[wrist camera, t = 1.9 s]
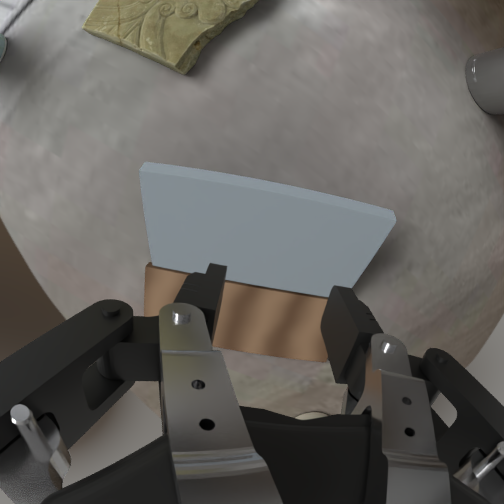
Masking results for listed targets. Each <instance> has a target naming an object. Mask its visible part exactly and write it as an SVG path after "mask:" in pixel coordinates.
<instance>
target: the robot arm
mask: <svg viewBox="0 0 504 504" xmlns="http://www.w3.org/2000/svg"><path fill="white" fill-rule="evenodd" d="M466 79H467V84H468V87H469V90H470V92H471V94H472V96H473V98H474V100H475V101H476V103H477V104H478V105H479V106H480V107H481V108H482V109H483V110H484V111H486V112H487V113H490V114H504V47H503V48H499V49H495V50H492V51H488V52H484V53H481V54H478V55H474V56H472V57H471V58H470V59H469V60H468V62H467V65H466ZM226 273H227V266H225V265H219V264H214V263H210V264H209V266H208V268H207V271H206V273H205V274H204V273H199V272H194V273H192V274H190V275H188V276H187V277H186V279H185V281H184V284H183V285H182V287H181V289H180V290H179V292H178V294H177V296H176V298H175V300H174V302H173V303H170V304H167V305H165V306H163V307H162V308H161V309H160V311H159V315H158V316H151V317H142V316H133V309H132V307H131V306H130V305H128V304H127V303H125V302H123V301H119V300H112V299H109V300H102V301H99V302H96V303H94V304H93V305H91V306H89V307H88V308H86V309H84V310H83V311H81V312H79V313H78V314H76V315H74V316H73V317H71V318H69V319H68V320H66V321H65V322H63V323H61V324H60V325H58V326H56V327H55V328H53V329H52V330H50V331H48V332H47V333H45V334H43V335H42V336H40V337H39V338H37V339H35V340H34V341H32V342H31V343H29V344H28V345H26V346H24V347H23V348H21V349H20V350H18V351H16V352H15V353H13V354H12V355H10V356H9V357H7V358H6V359H4V360H3V361H1V362H0V488H1V489H2V490H3V491H4V493H5V494H6V495H7V496H8V497H9V498H10V499H11V500H12V501H13V502H14V503H15V504H504V407H503V406H502V405H501V403H500V402H498V400H497V399H496V398H494V396H492V394H490V393H489V392H488V391H487V390H486V389H485V388H484V387H483V386H482V385H481V384H480V383H479V382H478V381H477V380H476V379H475V378H474V377H473V376H472V375H471V374H470V373H469V372H468V371H467V370H466V369H465V368H464V367H463V366H462V365H461V364H459V363H458V362H457V361H456V360H455V359H454V358H453V357H452V356H451V355H450V354H448V353H447V352H445V351H443V350H440V349H437V348H430V349H428V350H427V351H426V353H425V355H424V356H423V358H419V357H415V356H412V355H408V354H407V349H406V347H405V345H404V344H403V343H402V342H401V341H400V340H399V339H397V338H396V337H394V336H391V335H388V334H384V332H383V331H382V329H381V327H380V326H379V324H378V322H377V321H376V319H375V317H374V316H373V315H372V312H371V311H370V309H369V308H368V306H366V305H365V304H364V303H363V302H362V301H360V300H358V298H357V297H356V295H355V293H354V292H353V290H352V289H351V288H349V287H343V286H337V285H334V286H333V287H332V289H331V291H330V294H329V298H328V301H327V304H326V307H325V310H324V313H323V315H322V319H321V325H320V329H321V334H322V337H323V340H324V344H325V347H326V351H327V354H328V358H329V361H330V364H331V368H332V371H333V375H334V379H335V382H336V383H340V384H348V387H347V389H346V391H345V393H344V395H343V402H342V409H341V414H336V415H331V416H325V417H320V418H314V419H307V420H300V419H296V418H292V417H289V416H285V415H282V414H278V413H275V412H271V411H268V410H265V409H259V408H251V407H244V406H239V404H238V401H237V398H236V395H235V392H234V389H233V386H232V383H231V380H230V377H229V374H228V371H227V368H226V364H225V361H224V358H223V355H222V353H221V351H213V348H212V345H213V340H214V336H215V331H216V327H217V322H218V318H219V314H220V308H221V303H222V297H223V291H224V285H225V279H226ZM95 361H96V362H95ZM94 362H95V363H94ZM91 364H92V365H91ZM90 365H91V366H90ZM89 366H90V367H89ZM88 367H89V368H88ZM135 381H158V384H159V398H160V411H161V422H162V436H161V437H159V438H157V439H156V440H154V441H153V442H151V443H149V444H148V445H146V446H144V447H142V448H141V449H139V450H137V451H135V452H134V453H132V454H130V455H128V456H126V457H125V458H123V459H121V460H119V461H117V462H116V463H114V464H112V465H110V466H108V467H106V468H104V469H102V470H100V471H98V472H96V473H94V474H92V475H90V476H88V477H86V478H84V479H82V480H80V481H78V482H75V483H73V484H71V485H69V486H67V487H64V488H62V483H63V479H64V477H65V475H66V474H67V472H68V471H69V468H70V466H71V456H70V453H69V451H68V449H69V448H70V447H71V446H72V445H73V444H75V443H76V442H77V440H78V439H80V437H82V436H83V435H84V434H85V432H87V431H88V430H89V429H90V427H91V426H93V425H94V424H95V423H96V422H97V421H98V420H99V419H100V418H101V417H102V416H103V415H104V414H105V412H107V411H108V410H109V409H110V408H111V407H112V405H114V404H115V403H116V402H117V401H118V400H119V399H120V398H121V397H122V396H123V395H124V394H125V393H126V392H127V391H128V390H129V389H130V388H131V387H132V386H133V385H134V383H135ZM440 393H442V394H443V395H444V396H445V397H446V398H447V399H448V400H449V401H450V402H451V403H452V404H453V406H454V407H455V408H456V410H457V418H456V420H455V422H454V423H453V424H452V426H451V427H450V428H449V427H448V426H447V425H446V424H445V423H444V421H443V420H442V419H441V418H440V417H439V416H438V414H437V413H436V412H435V411H434V410H433V409H432V408H431V405H432V404H433V403H434V401H435V400H436V398H437V397H438V395H439V394H440Z"/></svg>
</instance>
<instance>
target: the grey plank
mask: <svg viewBox="0 0 504 504" xmlns="http://www.w3.org/2000/svg"><path fill="white" fill-rule="evenodd" d="M139 176H140V184H141V193H142V201H143V208H144V215H145V222H146V229H147V235H148V242H149V248H150V253H151V259H152V265H154V266H158V267H163V268H168V269H173V270H178V271H183V272H188V273H194V272H199V273H204V274H205V273H206V271H207V268H208V266H209V264H210V263H214V264H219V265H225V266H227V273H226V279H225V280H230V281H236V282H241V283H247V284H252V285H258V286H264V287H270V288H275V289H281V290H287V291H293V292H299V293H305V294H311V295H317V296H324V297H329V294H330V291H331V289H332V287H333V286H334V285H337V286H343V287H349V288H352V287H353V285H354V284H355V283H356V281H357V280H358V278H359V277H360V276H361V274H362V273H363V271H364V270H365V268H366V267H367V266H368V264H369V263H370V261H371V260H372V258H373V257H374V255H375V254H376V252H377V251H378V249H379V248H380V246H381V245H382V243H383V242H384V240H385V239H386V237H387V235H388V234H389V232H390V231H391V229H392V228H393V226H394V224H395V223H396V218H395V215H394V211H393V210H389V209H386V208H382V207H378V206H375V205H371V204H367V203H363V202H359V201H355V200H351V199H347V198H343V197H339V196H335V195H331V194H326V193H322V192H318V191H313V190H309V189H304V188H300V187H295V186H290V185H286V184H281V183H276V182H271V181H266V180H260V179H255V178H250V177H244V176H239V175H233V174H227V173H221V172H215V171H209V170H203V169H196V168H189V167H182V166H175V165H168V164H160V163H152V162H145V163H144V164H143V166H142V167H141V168H140V170H139Z"/></svg>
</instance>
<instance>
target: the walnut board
mask: <svg viewBox="0 0 504 504" xmlns="http://www.w3.org/2000/svg"><path fill="white" fill-rule="evenodd" d="M190 274H192V273H188V272H183V271H178V270H173V269H168V268H163V267H158V266H154V265H152V263H151V262H149V263H148V264H147V265H146V267H145V295H144V317H151V316H158V315H159V311H160V309H161V308H162V307H163V306H165V305H167V304H170V303H173V302H174V300H175V298H176V296H177V294H178V292H179V290H180V289H181V287H182V285H183V284H184V281H185V279H186V277H187V276H188V275H190ZM328 298H329V297H324V296H317V295H311V294H305V293H299V292H293V291H287V290H281V289H275V288H270V287H264V286H258V285H252V284H247V283H241V282H236V281H230V280H225V285H224V291H223V297H222V303H221V308H220V314H219V318H218V322H217V327H216V331H215V336H214V340H213V345H212V346H214V347H219V348H225V349H231V350H236V351H242V352H249V353H255V354H262V355H269V356H276V357H283V358H291V359H299V360H308V361H318V362H326V360H327V358H328V354H327V351H326V347H325V344H324V340H323V337H322V334H321V329H320V325H321V319H322V315H323V313H324V310H325V307H326V304H327V301H328Z"/></svg>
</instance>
